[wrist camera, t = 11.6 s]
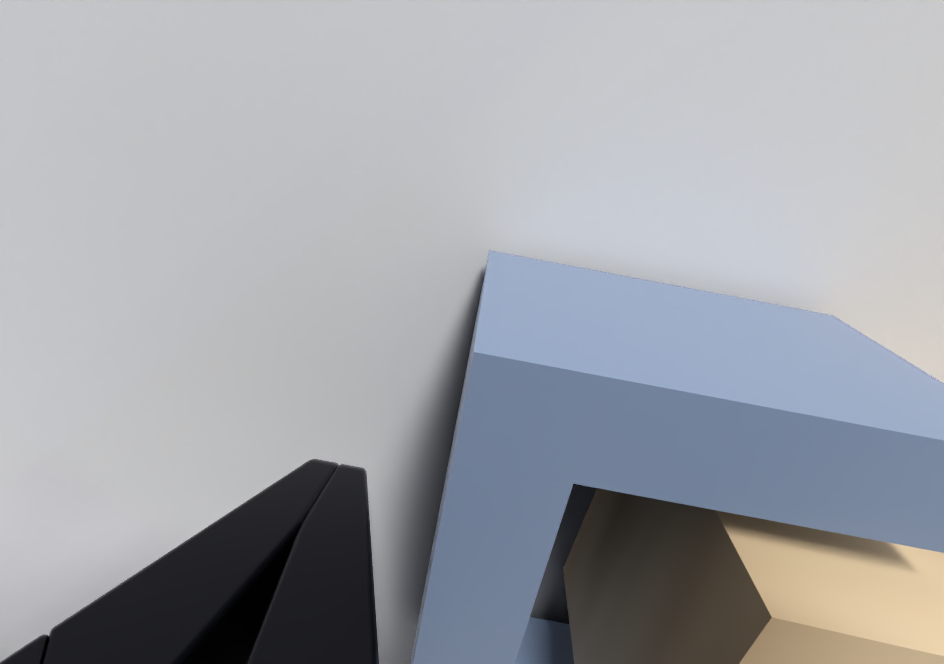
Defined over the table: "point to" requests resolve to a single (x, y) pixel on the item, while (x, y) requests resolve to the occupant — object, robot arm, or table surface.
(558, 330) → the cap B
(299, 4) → the table surface
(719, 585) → the slat
